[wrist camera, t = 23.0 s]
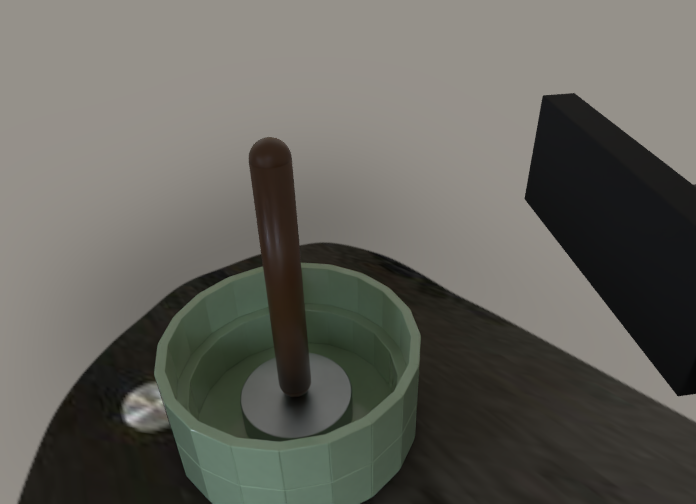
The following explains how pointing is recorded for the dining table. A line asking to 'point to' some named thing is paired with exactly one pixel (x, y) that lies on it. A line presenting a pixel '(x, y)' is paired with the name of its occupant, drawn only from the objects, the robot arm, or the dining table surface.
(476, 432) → the dining table surface
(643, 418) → the dining table surface
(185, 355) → the bowl
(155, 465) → the dining table surface
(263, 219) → the wooden peg on disc
